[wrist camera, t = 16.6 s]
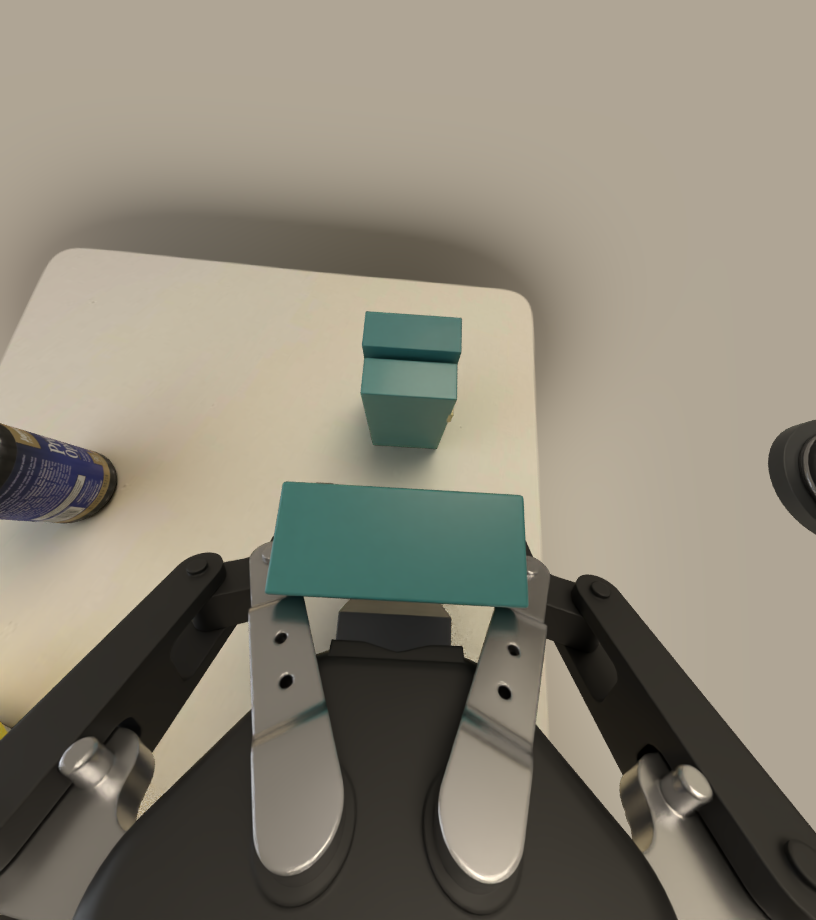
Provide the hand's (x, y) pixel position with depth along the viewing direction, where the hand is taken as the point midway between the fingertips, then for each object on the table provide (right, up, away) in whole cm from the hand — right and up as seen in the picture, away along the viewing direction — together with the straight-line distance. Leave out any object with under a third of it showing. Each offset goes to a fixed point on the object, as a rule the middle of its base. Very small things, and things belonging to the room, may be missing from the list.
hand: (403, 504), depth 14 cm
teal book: (0, -3, +4) cm, 5 cm away
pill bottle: (-27, 0, +13) cm, 30 cm away
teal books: (0, +6, +15) cm, 16 cm away
